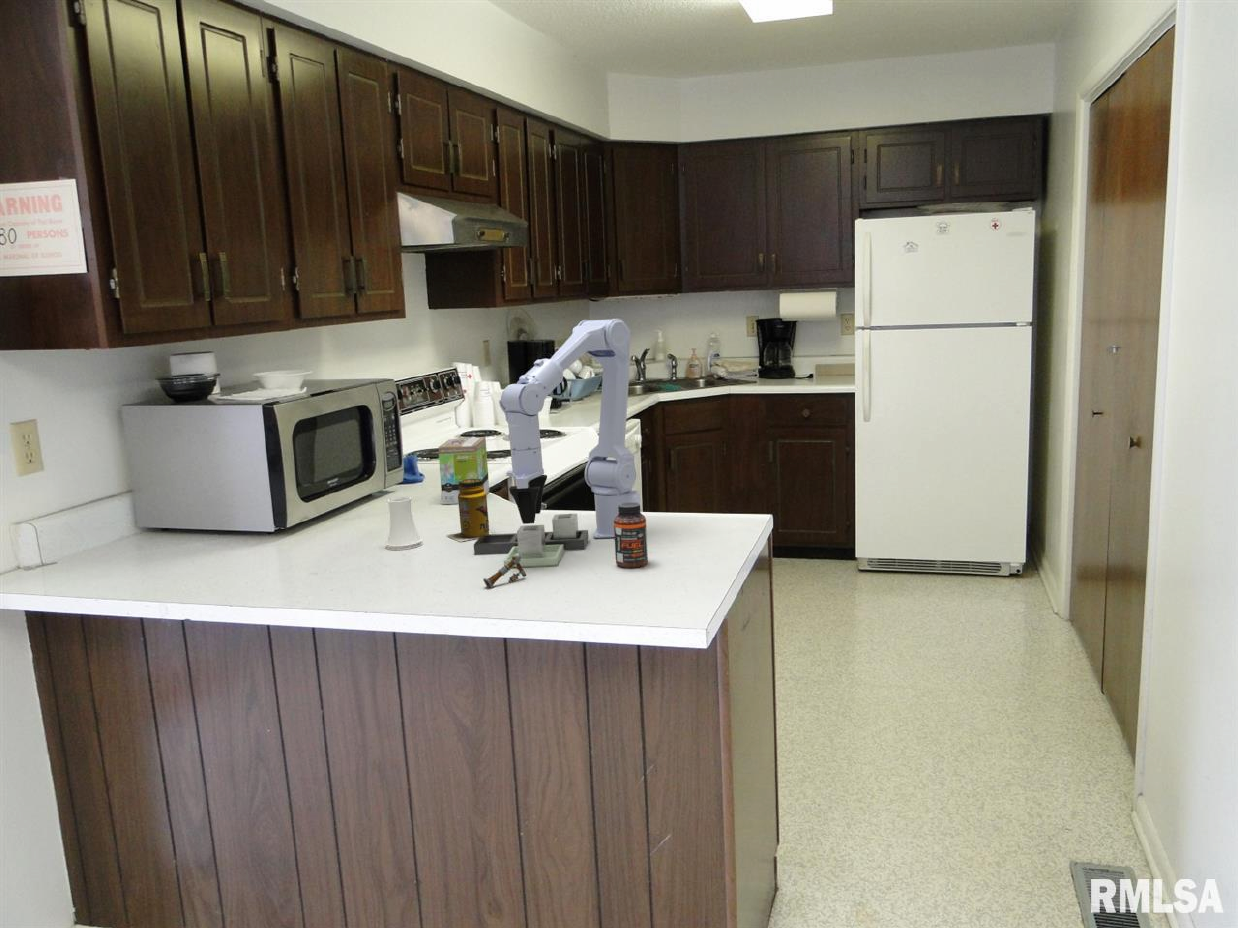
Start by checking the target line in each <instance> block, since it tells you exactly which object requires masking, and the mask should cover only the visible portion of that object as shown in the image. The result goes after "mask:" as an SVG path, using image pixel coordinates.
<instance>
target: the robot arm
mask: <svg viewBox="0 0 1238 928" xmlns="http://www.w3.org/2000/svg"><path fill="white" fill-rule="evenodd" d="M631 336H632V332H631V330H630V329H629V327H628V326H627V324H626V322H624V321H623V319H620V318H613V319H597V320H596V319H592V320H591V319H590V320H589V319H583V320H582V321H579V322H578V324H577V325H576V326H574V327H573V328H572V333H571V335H570V336H569V337H568V338H567V339H566V340H565V342H564V343H563V344H562V345H561V346H560V348H558V350H556V352H555V353H554V354H553V355H551V358H542V359H536V360H535V361H534V362H533V365H534V366H533V367H531V368H530V370H528V371H527V372H526V373H525V374H524V375H521V376H519V378H518V379H519V380H518V381H517V382H516V383H512V384H509V385H507V386H506V387H505V388H504V389H503V390H502V392H501V394H500V395H501V396H500V400H499V401H498V404H499V407H500V409H501V411H503V413H504V416H505V421H506V422H507V424H508V425H507V426H508V437H509V448H510V449H509V450H510V457H511V458H510V459H511V470H508V471H506V472H505V473H506V475H505V476H506V477H512V478H513V479H514V480H515V481H516V485H514V486H512V485H511V486H510V487H509V488H508V490H509V493H510V495H511V497H512V498H513V500H514V502H515V503H516V506H517V509H518V513H519V515H520V516H519V517H520V519H521V522H522V524H524V525H525V524H534V523H535V521H536V515H539V514H541V510H542V504H543V503H542V502H543V493H544V488H545V485H546V483H547V480H548V475H547V474H545V470H544V466H543V458H542V457H543V456H542V446H541V445H542V443H541V434H540V419H539V413H540V412H542V410H543V408H544V405H545V400H546V399H547V397H548V396H549V394H551V393H552V392H553V391H554V390H555V389H556V388H557V386H559V384H560V383H562V382H563V380H564V372H565V371H566V370H567V369H568V368H569V367H570V366H572V365H573V364H574V363H575V362H576V361H578V360H579V359H580V358H581V357H583V355H584V354H587V355H588V356H590V357H591V358H593V359H594V360H595V361H597V362H598V364H600V366H601V368H602V378H601V379H602V380H601V396H600V411H599V412H600V413H599V427H598V441H597V444H596V446H594V447H593V448H592V449H591V450H590V451H589V452H588V460H587V463H586V466H585V469H584V479H585V482H586V484H587V485H588V486H589V487H590V489H591V492H592V493H594V495H593V496H594V506H595V507H594V509H595V511H594V512H595V522H596V523H595V524H596V528H595V531H594V533H593V538H594V539H602V538H605V539H607V538H608V539H609V538H615V535H614V519H615V517H616V516H618V514H619V512H618V505H619V504H621V503H627V502H635V503H639V504H640V505H641V501H640V492H639V490H632V488H633V487H634V486H635V483H636V480H637V469H636V465H635V455H634V453H632V451H630V449H628V448H627V447H626V444H625V442H626V441H625V440H626V430H627V429H626V426H627V413H628V401H629V400H628V396H629V383H630V381H629V380H630V367H631V356H630V353H631V352H630V351H631V339H632V338H631ZM608 458H610V459H608ZM611 458H612V459H611Z"/></svg>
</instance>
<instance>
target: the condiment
mask: <svg viewBox="0 0 1238 928" xmlns="http://www.w3.org/2000/svg"><path fill="white" fill-rule="evenodd" d="M483 483H484V482H483V480H482V479H466V480H462V481H460V482H459V484H458V485H459V491H460V493H459V495H458V503H459V504H458V513H459V524H460V532H457V533H451V534H447V535H446V536H447V537H448V538H451V540H454V541H457V542H460V543H461V542H465V541H466V542H467V541H472V540H478V539H479V538H480V536H481V535H490V534H489V532H490V521H489V511H488V499H487V498H488V497H487V494H486V492H485V491H484V485H483ZM491 533H492V534H493V533H494V532H491ZM494 534H496V533H494Z"/></svg>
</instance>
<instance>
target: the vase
mask: <svg viewBox="0 0 1238 928" xmlns="http://www.w3.org/2000/svg"><path fill="white" fill-rule="evenodd" d="M387 503H388V508H389V515H390V516H389V517H390V523H389V524H390V525H389V526H390V527H389V533H388V536H387V541H386V542H385V543H384V544H385V545H386V546H385V549H386V550H390V551H404V550H405V551H406V550H411V549H416V548H419V547H420V546H422V545H423V538H421V536H420V535H419V533H418V531H417V529H416V526H415V523H414V519H413V513H412V497H410V496H397V497H393V498H389V499H387Z"/></svg>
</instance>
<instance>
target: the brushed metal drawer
mask: <svg viewBox="0 0 1238 928" xmlns="http://www.w3.org/2000/svg"><path fill="white" fill-rule="evenodd" d="M551 522H552V532H553V537H554V540H563V539H579V532H578V530H579V522H578V513H563V514H562V513H560V514H554V516H553V517H552V519H551Z"/></svg>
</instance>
